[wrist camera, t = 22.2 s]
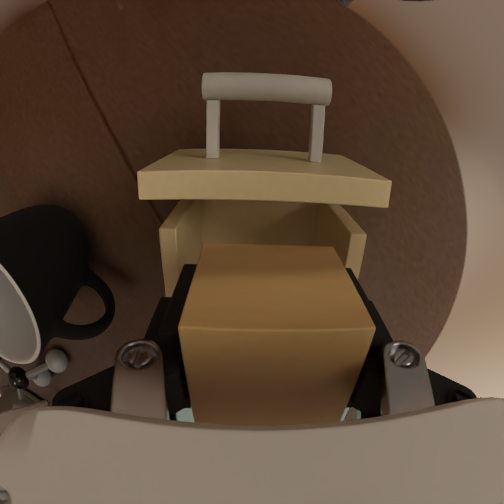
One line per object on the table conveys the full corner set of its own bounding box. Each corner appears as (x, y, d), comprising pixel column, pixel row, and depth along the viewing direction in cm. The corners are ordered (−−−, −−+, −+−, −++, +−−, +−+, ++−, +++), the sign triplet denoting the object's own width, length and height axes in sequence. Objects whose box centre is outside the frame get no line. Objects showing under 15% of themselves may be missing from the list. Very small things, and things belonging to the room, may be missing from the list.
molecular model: (50, 378, 30) (17, 441, 20) (-17, 313, 26) (-62, 367, 16) (75, 356, 28) (35, 431, 18) (-2, 279, 24) (-61, 339, 14)
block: (203, 242, 11) (177, 326, 7) (333, 246, 11) (376, 328, 7) (209, 341, 13) (195, 431, 9) (315, 342, 13) (336, 430, 9)
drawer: (179, 83, 17) (135, 66, 10) (345, 91, 17) (401, 80, 10) (187, 302, 23) (166, 377, 16) (321, 305, 24) (344, 379, 16)
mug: (18, 260, 23) (-46, 321, 14) (31, 173, 19) (-58, 216, 10) (122, 318, 25) (79, 406, 16) (152, 234, 22) (96, 318, 13)
